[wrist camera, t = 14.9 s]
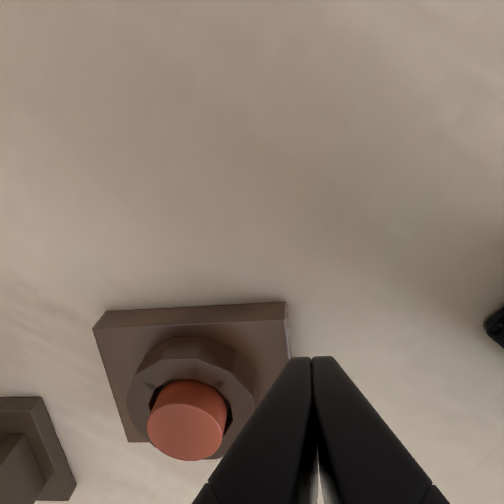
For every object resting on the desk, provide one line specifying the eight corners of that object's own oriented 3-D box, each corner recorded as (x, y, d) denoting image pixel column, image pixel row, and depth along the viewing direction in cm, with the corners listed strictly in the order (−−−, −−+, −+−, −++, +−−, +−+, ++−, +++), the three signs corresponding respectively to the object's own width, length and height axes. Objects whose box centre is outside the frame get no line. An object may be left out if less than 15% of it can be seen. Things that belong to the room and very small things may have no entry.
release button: (221, 376, 20) (215, 403, 18) (232, 432, 21) (226, 461, 20) (150, 378, 20) (138, 404, 19) (165, 433, 22) (155, 461, 20)
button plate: (286, 301, 21) (283, 341, 18) (297, 418, 24) (297, 470, 21) (105, 311, 23) (74, 349, 20) (138, 420, 26) (115, 469, 23)
